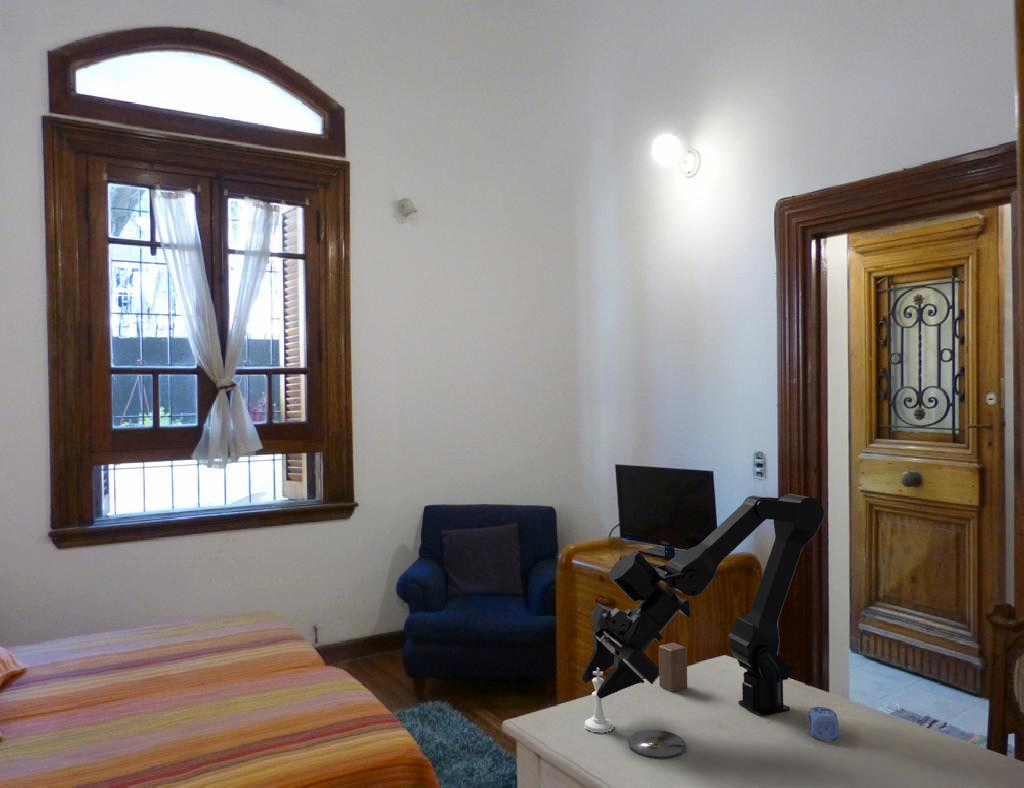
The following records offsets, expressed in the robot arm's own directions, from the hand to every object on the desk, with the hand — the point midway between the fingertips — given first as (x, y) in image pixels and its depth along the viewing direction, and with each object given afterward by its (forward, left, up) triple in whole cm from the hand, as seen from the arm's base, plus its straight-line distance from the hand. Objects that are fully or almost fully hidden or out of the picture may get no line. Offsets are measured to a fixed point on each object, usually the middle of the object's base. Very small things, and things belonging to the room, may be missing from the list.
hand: (590, 688), depth 129 cm
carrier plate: (-6, +10, -7) cm, 14 cm away
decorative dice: (-33, +18, -7) cm, 39 cm away
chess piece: (-1, 0, -7) cm, 7 cm away
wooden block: (-23, -10, -7) cm, 26 cm away
